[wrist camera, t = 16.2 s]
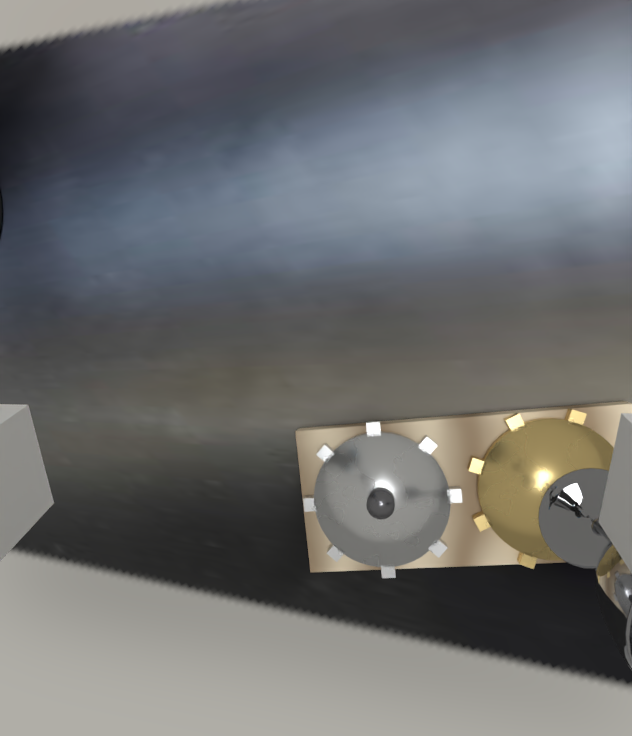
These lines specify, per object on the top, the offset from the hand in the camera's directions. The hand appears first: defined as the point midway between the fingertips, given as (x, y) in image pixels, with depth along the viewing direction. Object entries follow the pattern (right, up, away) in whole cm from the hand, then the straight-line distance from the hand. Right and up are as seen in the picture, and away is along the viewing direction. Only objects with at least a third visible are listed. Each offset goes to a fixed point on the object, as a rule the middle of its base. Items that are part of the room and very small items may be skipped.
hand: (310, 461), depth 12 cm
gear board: (+11, -7, +27) cm, 30 cm away
